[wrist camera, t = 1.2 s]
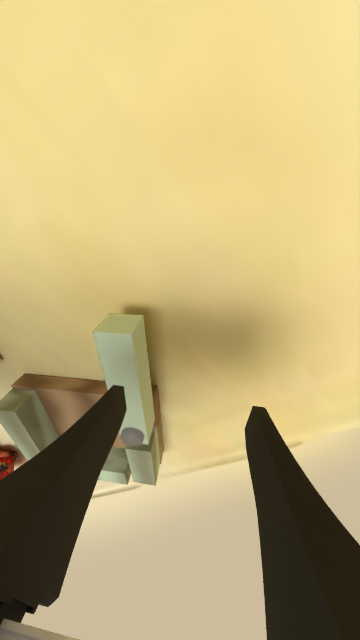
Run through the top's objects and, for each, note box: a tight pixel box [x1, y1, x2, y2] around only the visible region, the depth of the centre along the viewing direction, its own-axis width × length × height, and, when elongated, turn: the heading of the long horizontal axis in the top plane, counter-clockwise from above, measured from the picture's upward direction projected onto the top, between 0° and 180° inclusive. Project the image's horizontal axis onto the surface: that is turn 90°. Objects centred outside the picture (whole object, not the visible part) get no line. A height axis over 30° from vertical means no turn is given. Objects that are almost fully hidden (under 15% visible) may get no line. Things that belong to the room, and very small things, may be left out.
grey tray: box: [0, 374, 163, 485], centre depth 27 cm, size 18×14×5 cm
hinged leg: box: [93, 313, 155, 446], centre depth 19 cm, size 14×3×4 cm, turn 0°
